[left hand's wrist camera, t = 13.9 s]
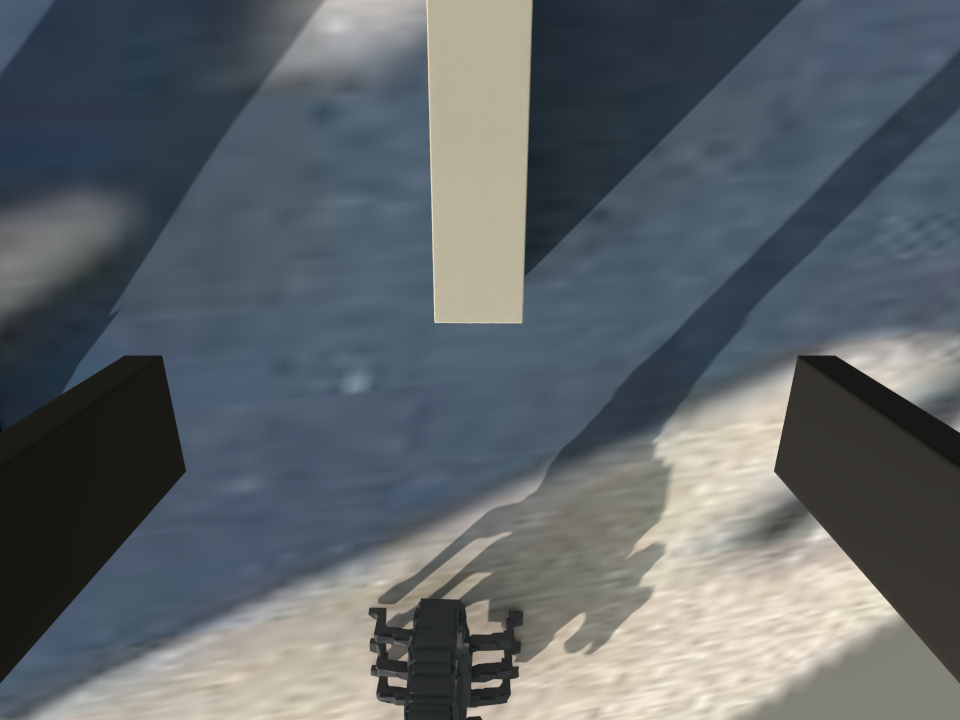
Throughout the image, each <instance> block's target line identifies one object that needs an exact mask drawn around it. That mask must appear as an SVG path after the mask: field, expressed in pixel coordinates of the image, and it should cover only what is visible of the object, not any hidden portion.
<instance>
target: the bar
mask: <svg viewBox="0 0 960 720" xmlns="http://www.w3.org/2000/svg"><path fill="white" fill-rule="evenodd" d="M532 13H533V0H427V34H428V75H429V115H430V155H431V195H432V235H433V275H434V316H435V323H523V301H524V269H525V237H526V205H527V173H528V141H529V109H530V77H531V45H532Z"/></svg>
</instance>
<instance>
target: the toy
mask: <svg viewBox="0 0 960 720" xmlns="http://www.w3.org/2000/svg"><path fill="white" fill-rule="evenodd" d="M368 615H370V616H371V617H373V618H374V619H376V620H377V622H376V627H375V632H374V638H371V640H370V651H371V652H375V653H378V658H377V662H376V665H372V667H371V675H372V676H377V677H379V682H378V687H377V692H376V695H377V699H378V700H379V701H382V702H386V703H392V704H395V705H402V706H404V720H482V719H481V717H480V716H476V717H468V718H467V719H466V716H467V707H477V706H486V705H495V704H502V703H507V700H508V698H509V697H510V695H511V690H510V679H515V678H517V677H519V673H518V670H519V666H518V667H512V655H513V654H518V653H521V642H515V641H514V627H516V626H521V625H523V620H522V618H523V612H512V611H510V614H509V618H506V621H507V631H504V633H493V634H491V635H471V636H470V637H469V629H468V626H467V622H466V611H465V606H464V604H462V602H461V600H450V599H421V602H419V603H418V606H417V609H416V611H415V614H414V623H413V629H402V628H395V627H386V608H369V614H368ZM386 643H388V644H392V645H391V646H408V647H409V648H408V662H406V661H396V660H388V653H389V652H388V653H386ZM490 650H504V655H505V658H502V662H497V663H485V664H477V665H475V666H472V655H473V652H476V651H490ZM388 677H398V678H401V679H404V680H407V688H403V687H395V686H389V685H388ZM492 679H503V682H502V684H501V685H500V687H494V688H484V689H474V690H472V689H471V682H487V681H490V680H492Z"/></svg>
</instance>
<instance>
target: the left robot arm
mask: <svg viewBox="0 0 960 720" xmlns="http://www.w3.org/2000/svg"><path fill="white" fill-rule="evenodd" d="M185 472H186V469H185V464H184V459H183V454H182V450H181V445H180V440H179V435H178V430H177V426H176V421H175V416H174V411H173V406H172V401H171V397H170V392H169V387H168V382H167V377H166V373H165V368H164V363H163V358H162V356H123V357H122V358H120V359H119V360H117V361H115V362H114V363H112V364H110V365H109V366H107V367H106V368H104V369H102V370H101V371H99V372H98V373H96V374H94V375H93V376H91V377H89V378H88V379H86V380H85V381H83V382H81V383H80V384H78V385H77V386H75V387H73V388H72V389H70V390H69V391H67V392H65V393H64V394H62V395H60V396H59V397H57V398H56V399H54V400H52V401H51V402H49V403H48V404H46V405H44V406H43V407H41V408H39V409H38V410H36V411H35V412H33V413H31V414H30V415H28V416H27V417H25V418H23V419H22V420H20V421H18V422H17V423H15V424H14V425H12V426H10V427H9V428H7V429H6V430H4V431H2V432H1V433H0V683H1V682H2V681H3V680H4V678H5V677H6V676H7V675H8V674H9V673H10V672H11V670H12V669H13V668H14V667H15V666H16V665H17V664H18V662H19V661H20V660H21V659H22V658H23V657H24V656H25V654H26V653H27V652H28V651H29V650H30V649H31V648H32V646H33V645H34V644H35V643H36V642H37V641H38V640H39V638H40V637H41V636H42V635H43V634H44V633H45V632H46V630H47V629H48V628H49V627H50V626H51V625H52V624H53V623H54V621H55V620H56V619H57V618H58V617H59V616H60V615H61V613H62V612H63V611H64V610H65V609H66V608H67V607H68V605H69V604H70V603H71V602H72V601H73V600H74V599H75V597H76V596H77V595H78V594H79V593H80V592H81V591H82V589H83V588H84V587H85V586H86V585H87V584H88V583H89V581H90V580H91V579H92V578H93V577H94V576H95V575H96V573H97V572H98V571H99V570H100V569H101V568H102V567H103V565H104V564H105V563H106V562H107V561H108V560H109V559H110V557H111V556H112V555H113V554H114V553H115V552H116V551H117V549H118V548H119V547H120V546H121V545H122V544H123V543H124V541H125V540H126V539H127V538H128V537H129V536H130V535H131V533H132V532H133V531H134V530H135V529H136V528H137V527H138V525H139V524H140V523H141V522H142V521H143V520H144V519H145V517H146V516H147V515H148V514H149V513H150V512H151V511H152V510H153V508H154V507H155V506H156V505H157V504H158V503H159V502H160V500H161V499H162V498H163V497H164V496H165V495H166V494H167V492H168V491H169V490H170V489H171V488H172V487H173V486H174V484H175V483H176V482H177V481H178V480H179V479H180V478H181V476H182V475H183V474H184V473H185ZM774 472H775V473H776V474H777V475H778V476H779V478H780V479H781V480H782V481H783V482H784V483H785V484H786V486H787V487H788V488H789V489H790V490H791V491H792V492H793V494H794V495H795V496H796V497H797V498H798V499H799V500H800V502H801V503H802V504H803V505H804V506H805V507H806V508H807V510H808V511H809V512H810V513H811V514H812V515H813V516H814V517H815V519H816V520H817V521H818V522H819V523H820V524H821V525H822V527H823V528H824V529H825V530H826V531H827V532H828V533H829V535H830V536H831V537H832V538H833V539H834V540H835V541H836V543H837V544H838V545H839V546H840V547H841V548H842V549H843V551H844V552H845V553H846V554H847V555H848V556H849V557H850V559H851V560H852V561H853V562H854V563H855V564H856V565H857V567H858V568H859V569H860V570H861V571H862V572H863V573H864V575H865V576H866V577H867V578H868V579H869V580H870V581H871V583H872V584H873V585H874V586H875V587H876V588H877V589H878V591H879V592H880V593H881V594H882V595H883V596H884V597H885V599H886V600H887V601H888V602H889V603H890V604H891V605H892V607H893V608H894V609H895V610H896V611H897V612H898V613H899V615H900V616H901V617H902V618H903V619H904V620H905V621H906V623H907V624H908V625H909V626H910V627H911V628H912V629H913V630H914V632H915V633H916V634H917V635H918V636H919V637H920V638H921V640H922V641H923V642H924V643H925V644H926V645H927V646H928V648H929V649H930V650H931V651H932V652H933V653H934V654H935V656H936V657H937V658H938V659H939V660H940V661H941V662H942V664H943V665H944V666H945V667H946V668H947V669H948V670H949V672H950V673H951V674H952V675H953V676H954V677H955V678H956V680H957V681H958V682H959V683H960V433H959V432H958V431H956V430H954V429H953V428H951V427H950V426H948V425H946V424H945V423H943V422H942V421H940V420H938V419H937V418H935V417H933V416H932V415H930V414H929V413H927V412H925V411H924V410H922V409H921V408H919V407H917V406H916V405H914V404H912V403H911V402H909V401H908V400H906V399H904V398H903V397H901V396H900V395H898V394H896V393H895V392H893V391H891V390H890V389H888V388H887V387H885V386H883V385H882V384H880V383H879V382H877V381H875V380H874V379H872V378H871V377H869V376H867V375H866V374H864V373H862V372H861V371H859V370H858V369H856V368H854V367H853V366H851V365H850V364H848V363H846V362H845V361H843V360H841V359H840V358H838V357H837V356H798V358H797V363H796V368H795V373H794V377H793V382H792V387H791V392H790V397H789V401H788V406H787V411H786V416H785V421H784V426H783V430H782V435H781V440H780V445H779V450H778V454H777V459H776V464H775V469H774Z"/></svg>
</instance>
